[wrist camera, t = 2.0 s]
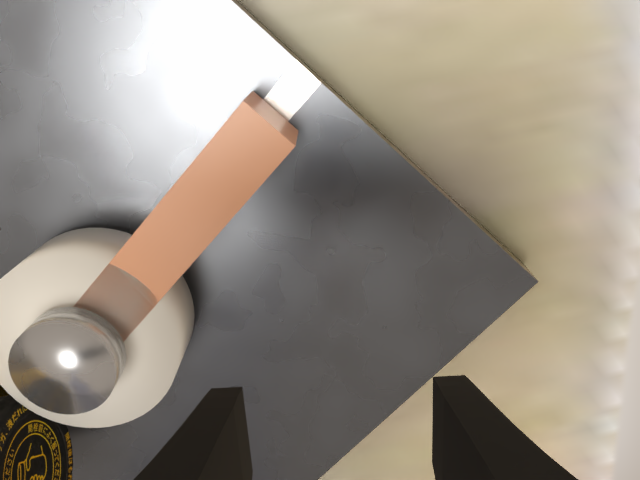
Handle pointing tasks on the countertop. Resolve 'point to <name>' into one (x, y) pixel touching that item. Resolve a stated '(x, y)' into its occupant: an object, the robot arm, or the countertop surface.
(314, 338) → the base
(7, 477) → the condiment
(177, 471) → the robot arm
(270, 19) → the countertop surface
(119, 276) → the collar
